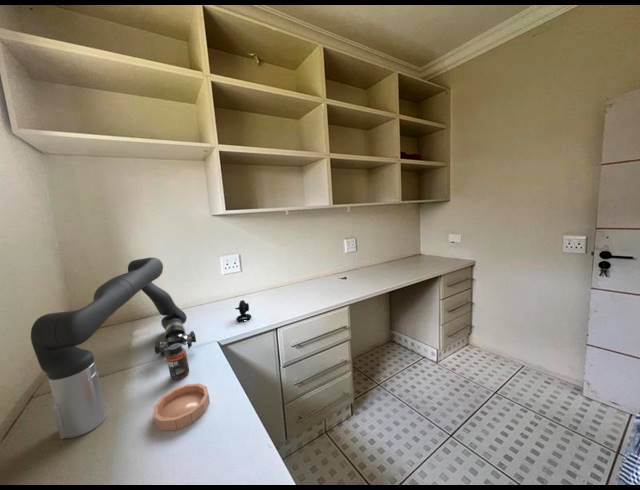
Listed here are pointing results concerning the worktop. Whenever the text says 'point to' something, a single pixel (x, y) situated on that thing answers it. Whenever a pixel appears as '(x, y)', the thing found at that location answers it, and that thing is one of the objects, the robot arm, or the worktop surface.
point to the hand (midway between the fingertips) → (176, 349)
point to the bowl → (181, 407)
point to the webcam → (243, 311)
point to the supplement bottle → (177, 361)
